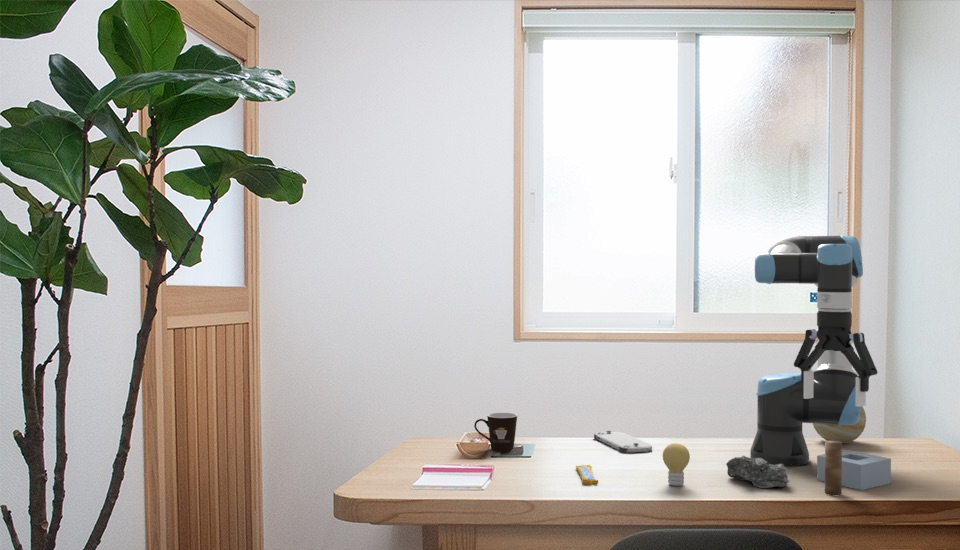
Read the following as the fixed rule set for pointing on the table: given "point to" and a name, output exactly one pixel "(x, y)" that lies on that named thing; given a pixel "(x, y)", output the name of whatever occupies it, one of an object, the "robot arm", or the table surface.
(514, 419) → the coffee mug
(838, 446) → the peg
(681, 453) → the light bulb
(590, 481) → the candy bar
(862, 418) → the decorative ball
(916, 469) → the table surface
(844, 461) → the socket
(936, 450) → the table surface
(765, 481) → the rock
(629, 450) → the handheld gaming console
